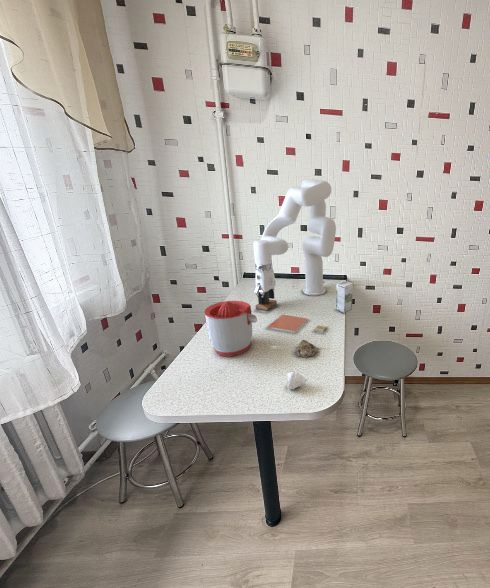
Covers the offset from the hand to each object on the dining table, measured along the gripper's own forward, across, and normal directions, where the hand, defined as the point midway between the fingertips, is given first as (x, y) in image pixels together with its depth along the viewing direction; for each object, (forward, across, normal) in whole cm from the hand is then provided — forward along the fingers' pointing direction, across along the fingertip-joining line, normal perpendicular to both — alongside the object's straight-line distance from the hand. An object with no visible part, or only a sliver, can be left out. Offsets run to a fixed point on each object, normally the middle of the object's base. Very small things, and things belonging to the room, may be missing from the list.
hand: (266, 301), depth 161 cm
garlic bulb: (+4, -51, -42) cm, 66 cm away
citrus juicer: (+4, -37, -9) cm, 38 cm away
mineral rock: (+4, -30, -35) cm, 46 cm away
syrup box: (+4, +11, -36) cm, 38 cm away
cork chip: (+4, -13, -34) cm, 36 cm away
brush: (+4, 0, 0) cm, 4 cm away
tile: (+4, -12, -18) cm, 22 cm away
